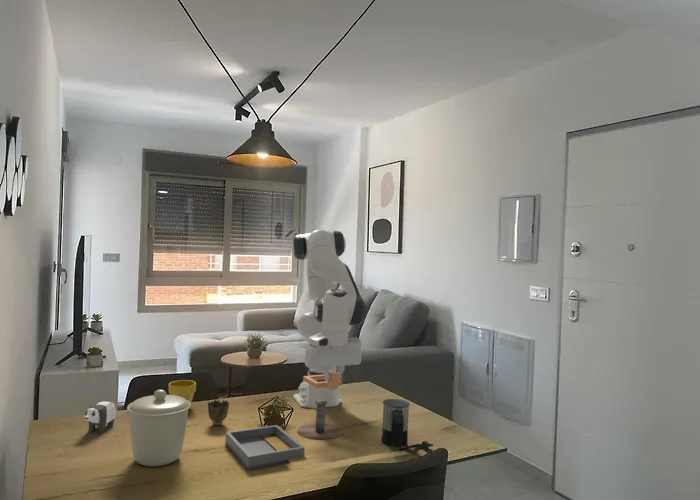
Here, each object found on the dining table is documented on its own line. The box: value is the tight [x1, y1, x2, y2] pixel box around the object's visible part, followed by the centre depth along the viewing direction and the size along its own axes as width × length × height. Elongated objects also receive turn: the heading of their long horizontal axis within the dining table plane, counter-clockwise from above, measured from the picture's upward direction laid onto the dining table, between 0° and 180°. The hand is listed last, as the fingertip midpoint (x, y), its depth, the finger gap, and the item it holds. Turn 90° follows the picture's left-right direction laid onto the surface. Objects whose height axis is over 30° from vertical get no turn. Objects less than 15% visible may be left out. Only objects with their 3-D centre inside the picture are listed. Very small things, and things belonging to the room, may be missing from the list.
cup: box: [207, 399, 230, 427], centre depth 195 cm, size 8×7×8 cm
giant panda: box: [83, 401, 117, 434], centre depth 184 cm, size 15×6×10 cm, turn 174°
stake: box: [296, 400, 344, 441], centre depth 189 cm, size 16×16×12 cm
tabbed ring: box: [302, 371, 343, 390], centre depth 187 cm, size 14×10×6 cm
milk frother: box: [381, 398, 434, 452], centre depth 182 cm, size 14×16×15 cm
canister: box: [126, 389, 192, 467], centre depth 163 cm, size 18×18×21 cm
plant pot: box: [168, 379, 197, 410], centre depth 212 cm, size 10×10×10 cm
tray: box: [225, 424, 305, 471], centre depth 172 cm, size 22×18×4 cm
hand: (332, 379), depth 182 cm, fingers closed on tabbed ring, 2 cm apart
